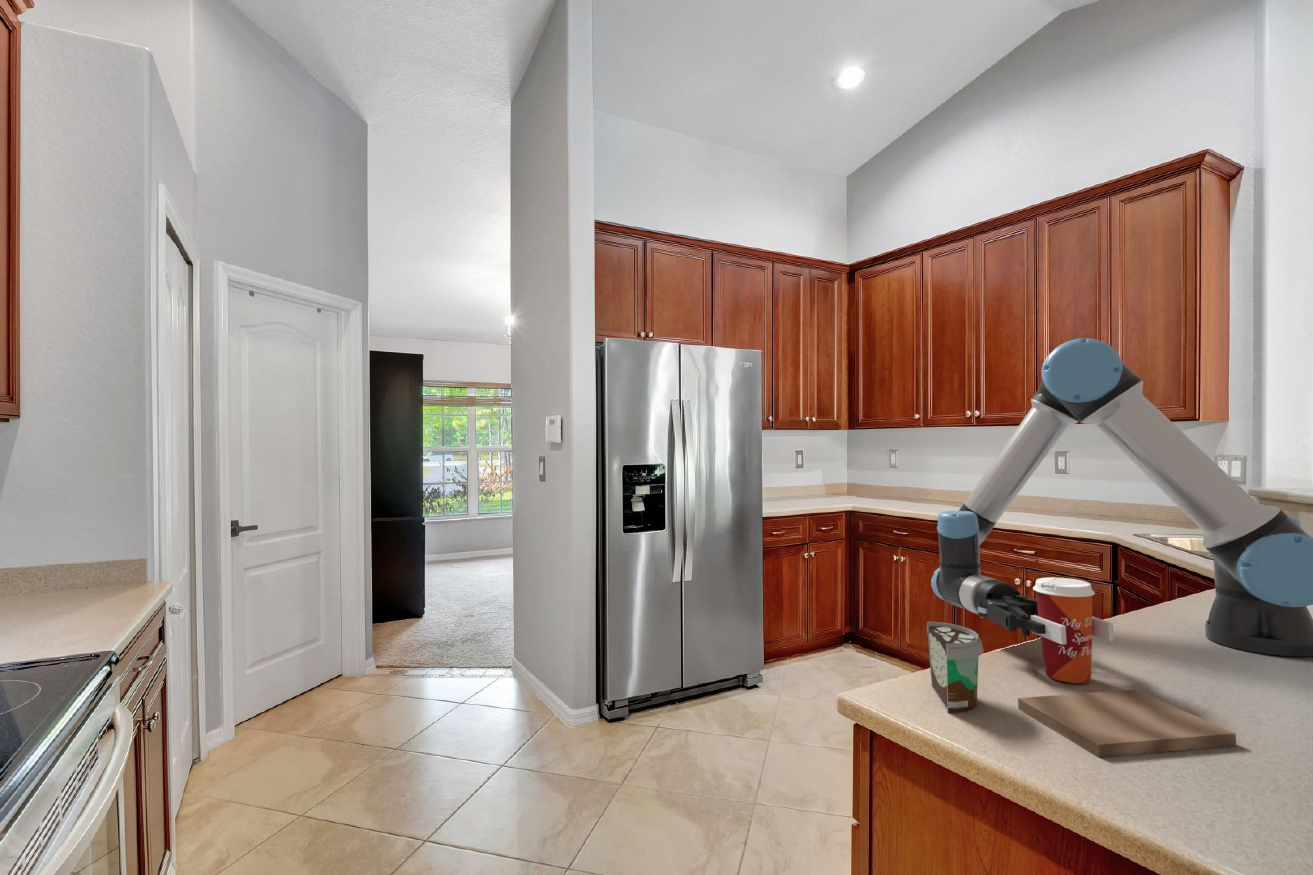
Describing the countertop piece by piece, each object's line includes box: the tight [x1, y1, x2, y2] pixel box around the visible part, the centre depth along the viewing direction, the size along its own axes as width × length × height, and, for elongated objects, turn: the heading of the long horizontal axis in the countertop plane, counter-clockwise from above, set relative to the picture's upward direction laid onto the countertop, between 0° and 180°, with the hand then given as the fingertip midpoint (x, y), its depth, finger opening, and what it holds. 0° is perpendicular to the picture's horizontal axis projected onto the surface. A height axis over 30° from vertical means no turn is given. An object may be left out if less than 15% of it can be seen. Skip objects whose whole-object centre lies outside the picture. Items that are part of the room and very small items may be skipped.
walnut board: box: [1017, 689, 1237, 758], centre depth 80 cm, size 18×14×2 cm
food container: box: [926, 621, 985, 714], centre depth 89 cm, size 12×6×10 cm, turn 168°
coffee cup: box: [1032, 577, 1096, 684], centre depth 96 cm, size 8×8×15 cm
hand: (1087, 633), depth 92 cm, fingers closed on coffee cup, 7 cm apart
